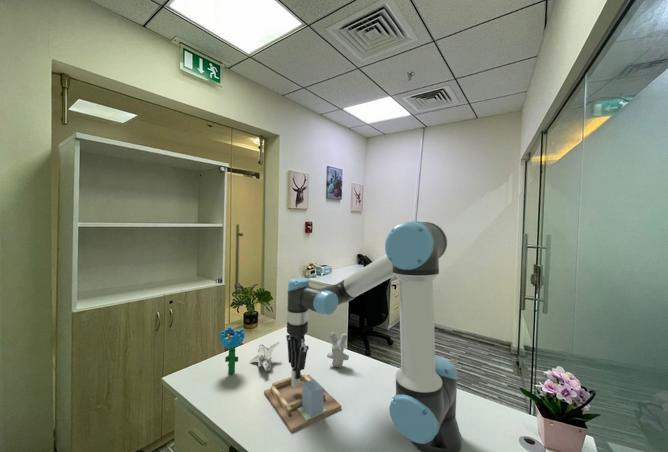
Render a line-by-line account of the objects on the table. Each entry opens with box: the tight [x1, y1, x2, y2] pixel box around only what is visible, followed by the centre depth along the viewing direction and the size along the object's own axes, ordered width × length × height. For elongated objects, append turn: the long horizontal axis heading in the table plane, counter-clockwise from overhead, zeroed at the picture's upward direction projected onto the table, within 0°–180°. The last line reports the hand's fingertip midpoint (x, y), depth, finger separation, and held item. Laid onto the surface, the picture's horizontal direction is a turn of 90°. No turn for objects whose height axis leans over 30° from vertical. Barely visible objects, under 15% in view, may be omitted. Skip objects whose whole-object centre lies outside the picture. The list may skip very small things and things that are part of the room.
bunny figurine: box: [326, 331, 350, 369], centre depth 118 cm, size 10×5×15 cm, turn 78°
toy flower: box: [219, 326, 245, 376], centre depth 111 cm, size 9×9×18 cm
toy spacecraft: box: [249, 341, 280, 372], centre depth 115 cm, size 8×15×15 cm
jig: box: [263, 373, 342, 434], centre depth 95 cm, size 22×19×3 cm
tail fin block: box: [302, 378, 325, 417], centre depth 89 cm, size 6×4×8 cm
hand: (295, 385), depth 98 cm, fingers closed
